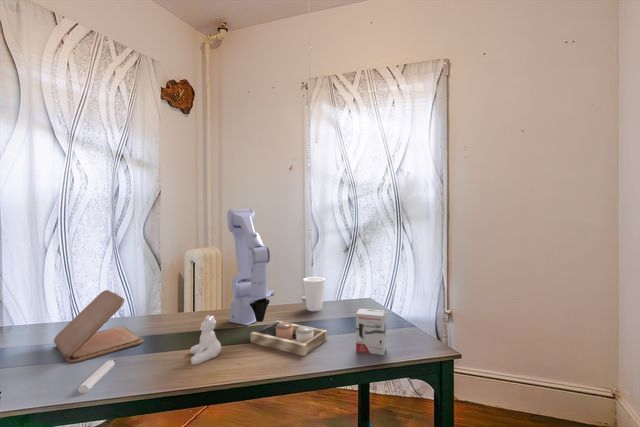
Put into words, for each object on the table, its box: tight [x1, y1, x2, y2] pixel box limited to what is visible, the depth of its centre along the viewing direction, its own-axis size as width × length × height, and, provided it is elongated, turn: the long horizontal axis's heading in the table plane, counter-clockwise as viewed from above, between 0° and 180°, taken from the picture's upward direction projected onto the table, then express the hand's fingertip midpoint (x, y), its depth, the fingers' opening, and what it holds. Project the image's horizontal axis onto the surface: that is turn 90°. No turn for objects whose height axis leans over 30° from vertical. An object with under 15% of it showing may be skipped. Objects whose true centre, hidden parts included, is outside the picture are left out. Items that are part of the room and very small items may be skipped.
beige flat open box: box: [250, 320, 329, 356], centre depth 108 cm, size 21×14×3 cm
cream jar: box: [295, 325, 313, 343], centre depth 105 cm, size 6×6×5 cm
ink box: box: [355, 308, 387, 356], centre depth 100 cm, size 8×5×12 cm, turn 72°
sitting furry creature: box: [189, 314, 222, 366], centre depth 98 cm, size 10×9×12 cm
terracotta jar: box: [275, 321, 294, 341], centre depth 109 cm, size 6×6×5 cm
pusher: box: [256, 320, 280, 336], centre depth 113 cm, size 4×10×4 cm, turn 150°
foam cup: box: [302, 276, 326, 312], centre depth 143 cm, size 10×9×13 cm
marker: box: [77, 359, 116, 394], centre depth 86 cm, size 3×2×16 cm
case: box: [53, 289, 144, 364], centre depth 107 cm, size 20×21×16 cm
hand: (259, 321), depth 114 cm, fingers closed
